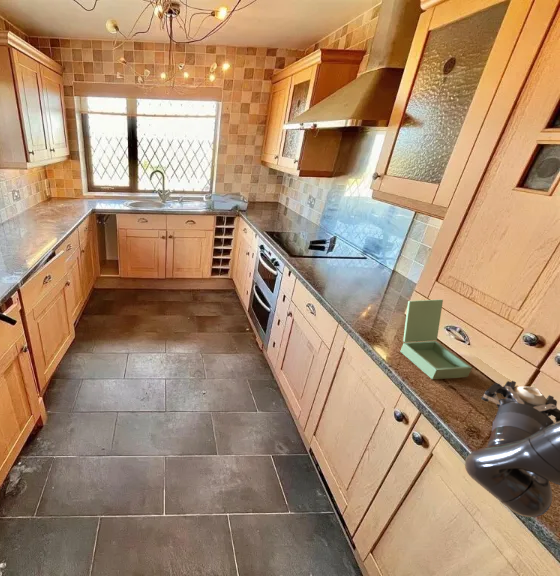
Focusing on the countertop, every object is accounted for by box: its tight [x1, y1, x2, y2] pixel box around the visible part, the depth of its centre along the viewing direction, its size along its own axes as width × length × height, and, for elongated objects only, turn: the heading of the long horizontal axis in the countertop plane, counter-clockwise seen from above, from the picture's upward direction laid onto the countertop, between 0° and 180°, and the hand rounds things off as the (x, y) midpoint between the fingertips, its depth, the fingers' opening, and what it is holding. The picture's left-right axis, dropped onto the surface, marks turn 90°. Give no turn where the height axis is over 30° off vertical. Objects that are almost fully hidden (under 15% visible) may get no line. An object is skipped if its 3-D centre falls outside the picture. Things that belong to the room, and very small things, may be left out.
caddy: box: [400, 340, 473, 380], centre depth 98 cm, size 13×11×4 cm
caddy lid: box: [402, 298, 444, 343], centre depth 103 cm, size 14×11×4 cm
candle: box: [513, 385, 547, 406], centre depth 73 cm, size 6×6×10 cm
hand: (530, 391), depth 73 cm, fingers closed on candle, 5 cm apart
